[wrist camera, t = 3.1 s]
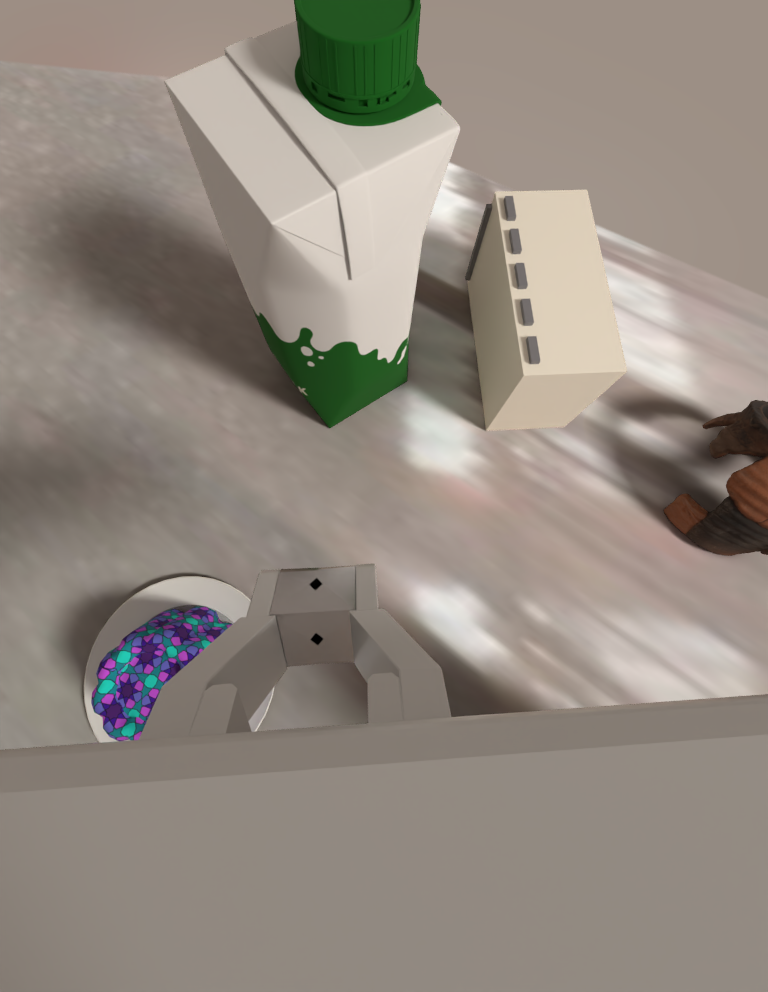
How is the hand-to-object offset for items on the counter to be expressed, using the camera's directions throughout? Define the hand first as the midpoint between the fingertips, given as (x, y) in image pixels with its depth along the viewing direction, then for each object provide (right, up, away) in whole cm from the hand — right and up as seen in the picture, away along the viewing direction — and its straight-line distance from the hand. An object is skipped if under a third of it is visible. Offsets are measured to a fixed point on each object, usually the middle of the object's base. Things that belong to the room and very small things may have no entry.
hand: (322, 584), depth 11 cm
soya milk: (-2, +12, +21) cm, 24 cm away
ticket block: (+12, +14, +22) cm, 28 cm away
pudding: (-11, -9, +16) cm, 22 cm away
